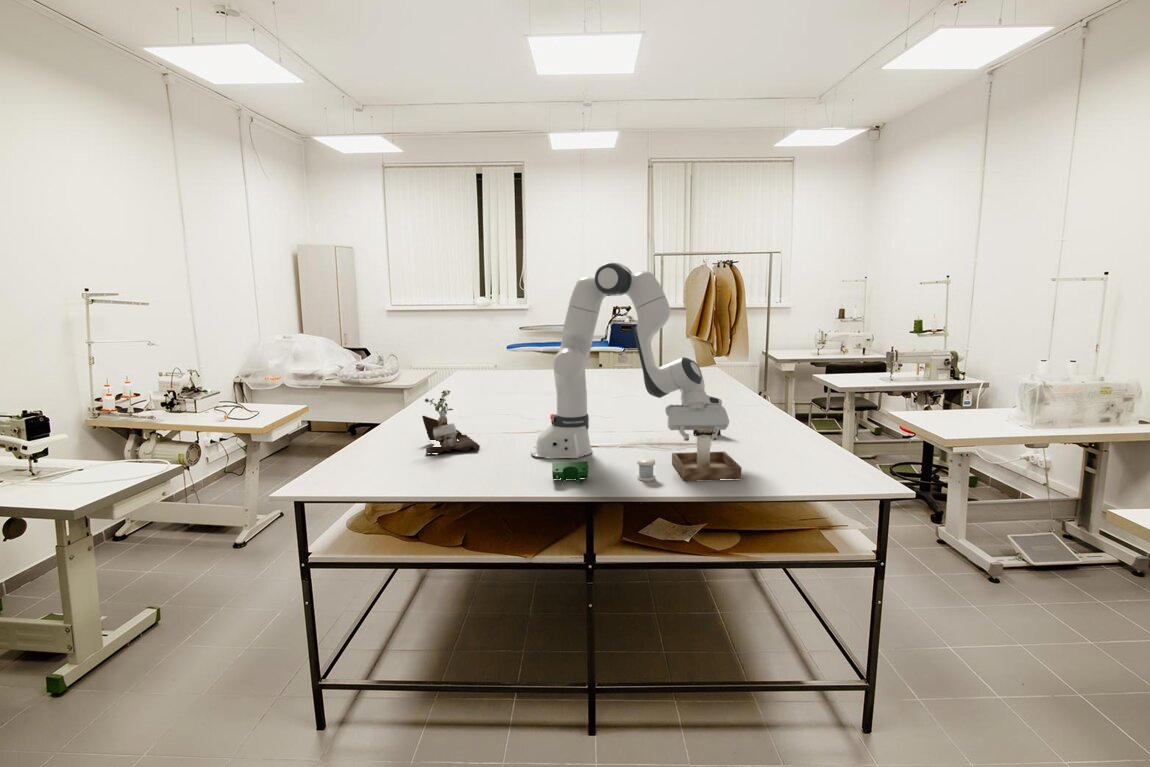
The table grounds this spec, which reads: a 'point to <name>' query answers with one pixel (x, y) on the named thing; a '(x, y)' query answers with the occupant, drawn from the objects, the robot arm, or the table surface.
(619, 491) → the table surface
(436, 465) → the table surface
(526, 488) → the table surface
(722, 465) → the tray
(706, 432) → the ammunition clip
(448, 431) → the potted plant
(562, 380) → the robot arm
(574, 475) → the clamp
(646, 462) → the small spool
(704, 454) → the grey tall block
